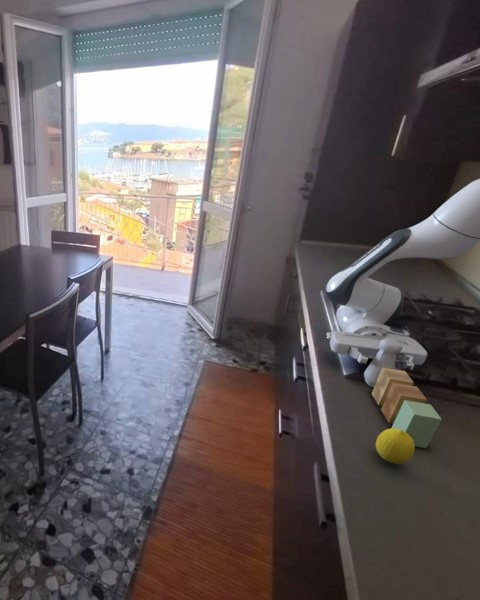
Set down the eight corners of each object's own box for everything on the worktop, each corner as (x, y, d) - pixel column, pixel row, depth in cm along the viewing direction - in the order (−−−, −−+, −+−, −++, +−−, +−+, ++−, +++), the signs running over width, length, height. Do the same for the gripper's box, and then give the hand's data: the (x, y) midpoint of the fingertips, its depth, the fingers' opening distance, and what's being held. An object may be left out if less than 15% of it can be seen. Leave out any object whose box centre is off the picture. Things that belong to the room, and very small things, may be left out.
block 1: (371, 393, 89) (382, 367, 86) (393, 397, 88) (405, 370, 84) (378, 405, 85) (389, 378, 82) (401, 409, 84) (413, 382, 81)
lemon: (410, 476, 68) (426, 445, 65) (375, 467, 70) (389, 437, 67) (399, 453, 73) (413, 424, 69) (366, 446, 75) (379, 417, 71)
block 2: (380, 409, 84) (392, 382, 81) (404, 413, 83) (417, 386, 79) (388, 423, 80) (401, 395, 77) (412, 427, 79) (427, 399, 75)
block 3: (391, 427, 79) (404, 399, 76) (416, 432, 78) (430, 404, 74) (399, 443, 75) (414, 414, 72) (426, 448, 74) (442, 419, 70)
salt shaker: (395, 391, 90) (414, 348, 84) (372, 391, 90) (390, 348, 84) (378, 376, 95) (395, 335, 89) (356, 377, 95) (372, 335, 89)
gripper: (327, 321, 102) (341, 346, 90) (414, 332, 96) (442, 360, 84) (321, 340, 105) (334, 367, 93) (406, 351, 98) (431, 382, 87)
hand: (386, 364), depth 89 cm, fingers open, 8 cm apart
